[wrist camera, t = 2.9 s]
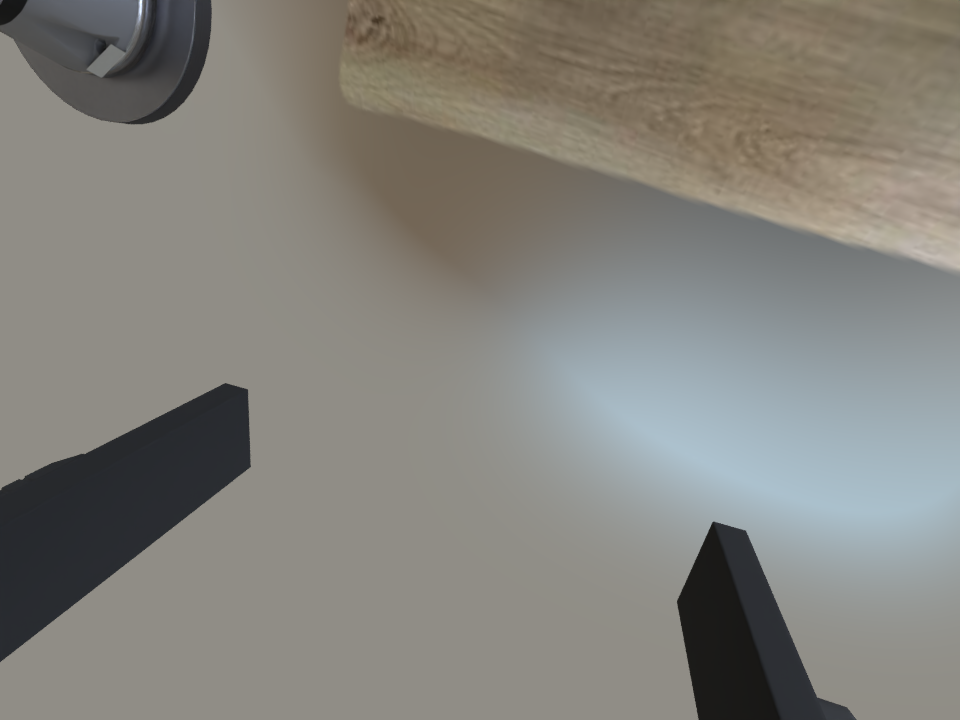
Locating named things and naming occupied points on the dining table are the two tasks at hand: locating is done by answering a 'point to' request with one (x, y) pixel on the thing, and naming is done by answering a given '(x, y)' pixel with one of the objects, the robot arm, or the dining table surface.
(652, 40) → the dining table surface
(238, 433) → the robot arm
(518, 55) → the dining table surface
